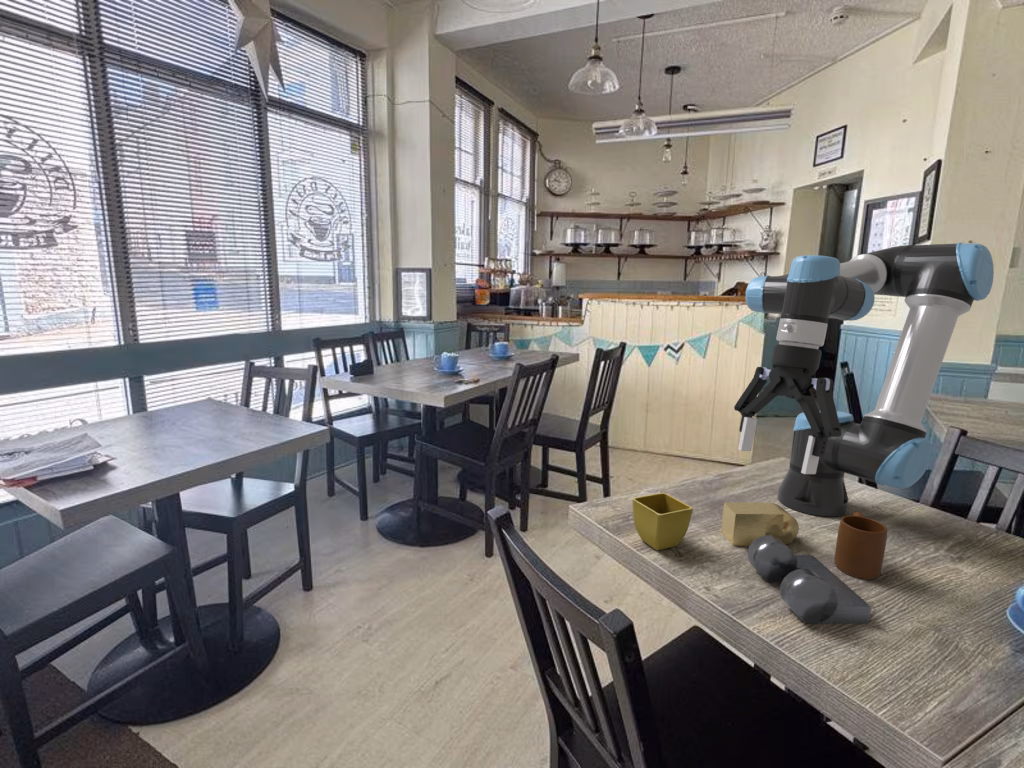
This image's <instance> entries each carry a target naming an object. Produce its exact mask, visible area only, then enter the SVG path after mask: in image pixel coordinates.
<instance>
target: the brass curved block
mask: <svg viewBox="0 0 1024 768" xmlns="http://www.w3.org/2000/svg"><path fill="white" fill-rule="evenodd" d="M799 529H800V528H799V523H798V521H797V519H796V518H795V517H794V516H792V515H791V514H790V512H788V511H786V509H785V508H783V507H782V506H780V505H779V504H777V503H775V502H730V501H729V502H723V509H722V519H721V529H720V534H721V535H722V536H723V537H724V538H725V540H727V542H728V543H729V544H730V545H731V546H734V547H735V546H736V547H740V546H745V547H746V546H750V545H751V543H752V542H753V541H754V540H756V539H757V538H759V537H761V536H766V535H771V536H774V537H777V538H778V539H779V540H781V541H782V542H783V543H784V544H785V545H786V546H787V545H788V544H790V543H792V542H794V540H795V539H796V537H797V536H798V533H799V531H800V530H799Z"/></svg>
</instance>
